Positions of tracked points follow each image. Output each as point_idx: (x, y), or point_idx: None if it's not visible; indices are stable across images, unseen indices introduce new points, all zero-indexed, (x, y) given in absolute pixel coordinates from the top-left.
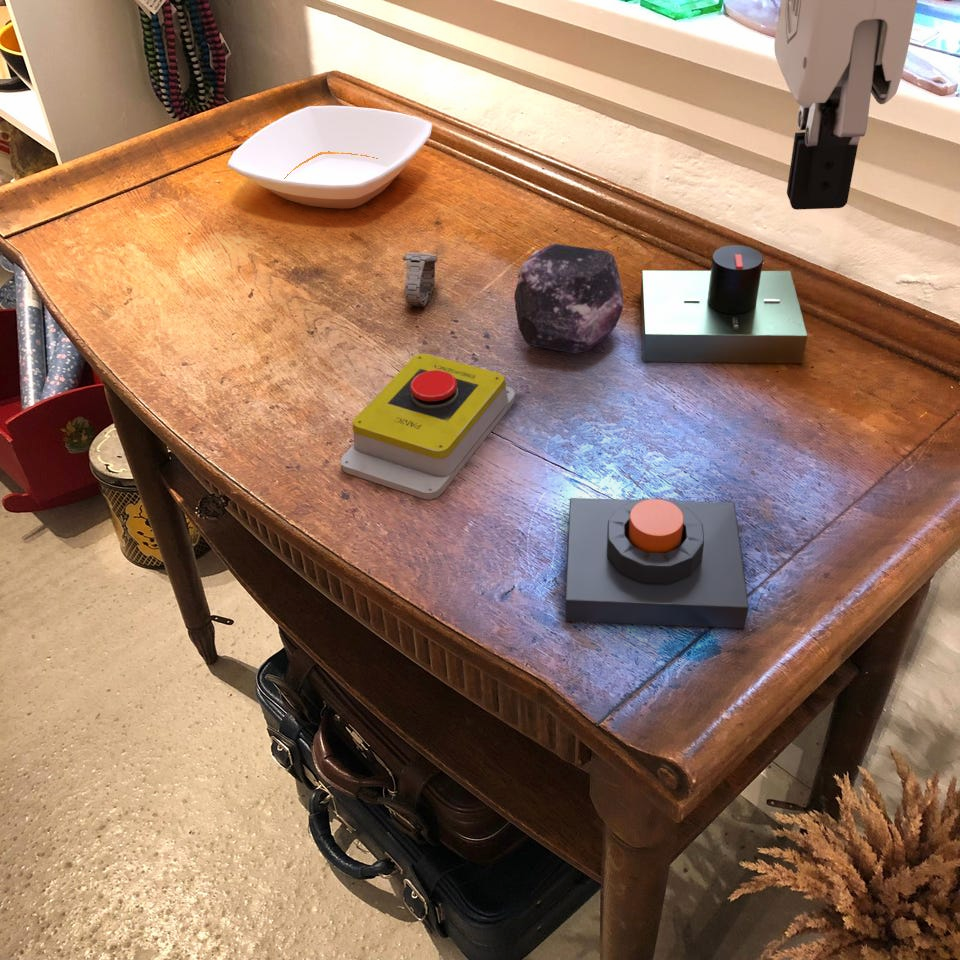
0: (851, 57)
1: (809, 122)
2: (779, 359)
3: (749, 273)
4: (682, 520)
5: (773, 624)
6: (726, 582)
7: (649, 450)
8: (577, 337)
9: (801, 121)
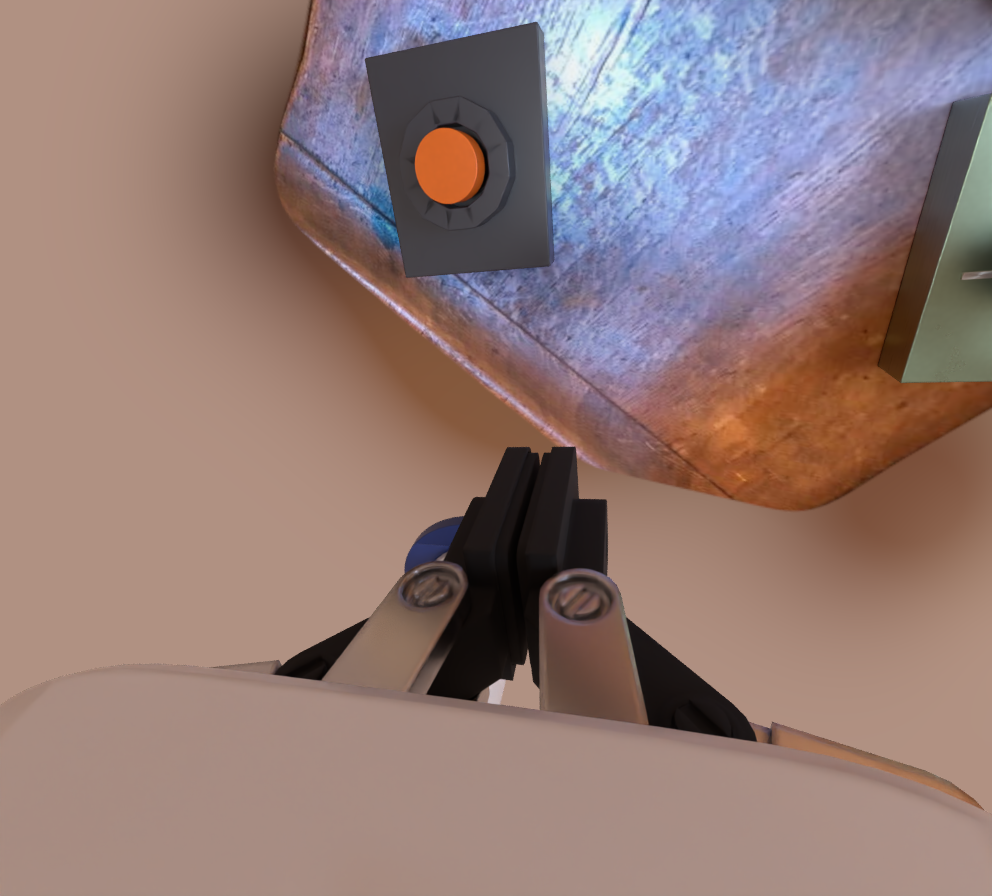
0: None
1: (406, 623)
2: (889, 337)
3: None
4: (446, 202)
5: (429, 299)
6: (431, 255)
7: (692, 142)
8: None
9: (565, 595)
